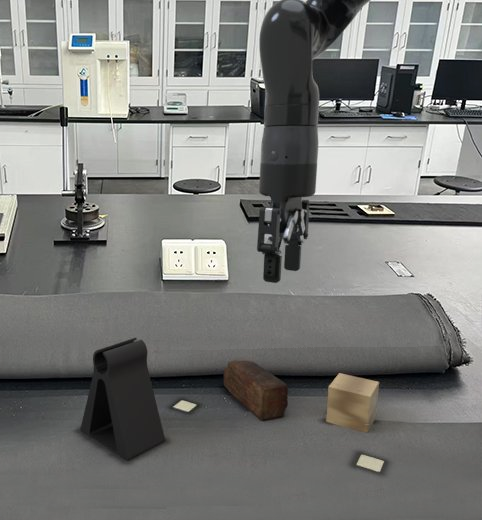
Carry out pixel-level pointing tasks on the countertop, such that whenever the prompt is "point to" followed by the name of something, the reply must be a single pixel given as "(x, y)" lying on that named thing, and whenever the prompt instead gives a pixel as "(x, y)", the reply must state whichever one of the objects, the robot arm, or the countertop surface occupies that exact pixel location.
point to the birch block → (352, 402)
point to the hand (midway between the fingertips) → (282, 275)
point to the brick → (256, 389)
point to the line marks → (363, 462)
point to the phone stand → (122, 401)
